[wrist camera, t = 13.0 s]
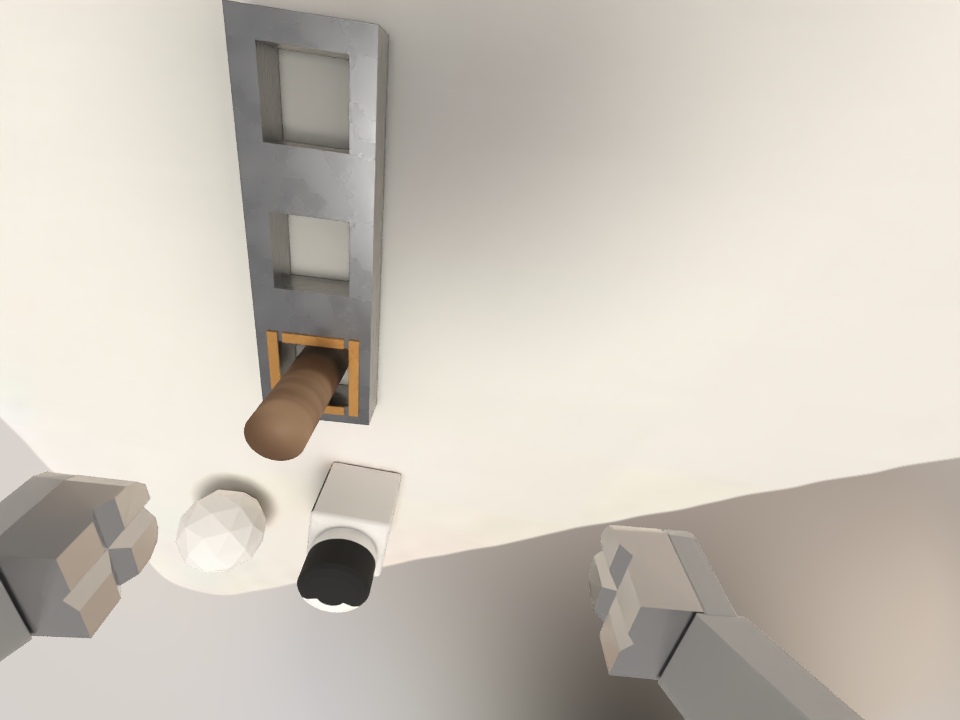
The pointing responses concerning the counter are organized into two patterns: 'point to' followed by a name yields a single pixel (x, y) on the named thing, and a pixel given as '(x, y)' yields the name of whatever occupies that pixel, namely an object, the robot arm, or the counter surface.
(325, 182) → the rectangular metal frame
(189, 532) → the ball
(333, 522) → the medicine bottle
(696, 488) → the counter surface
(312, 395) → the walnut peg
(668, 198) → the counter surface
